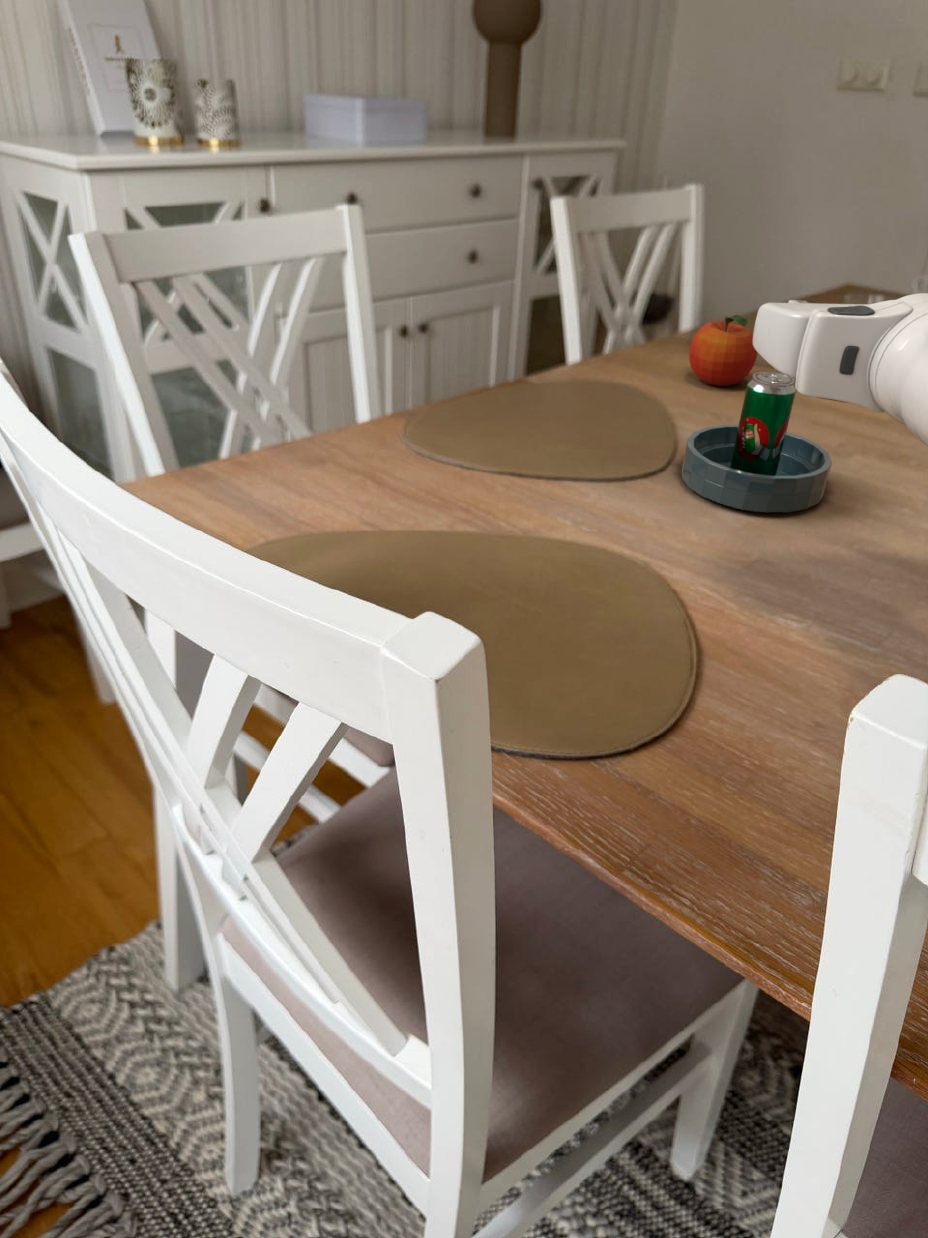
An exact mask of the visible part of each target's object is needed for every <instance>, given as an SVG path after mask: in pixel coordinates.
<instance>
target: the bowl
mask: <svg viewBox="0 0 928 1238" xmlns="http://www.w3.org/2000/svg"><path fill="white" fill-rule="evenodd" d="M738 426H739V424H719V425H712V426H706V427H704V428H701V429H699V430H695V431H693V432H692V433H691V434H690V435H689V436H688V437H687V438H686V445H685V450H684V457H683V462H682V469H681V480H683V482H684V483H685V484H686V486H687V487H688V488H689V489H690V490H692V491H693V492H695V493H697V494H698V495H699V496H701V497H702V498H704V499H707V498H708V499H707V500H709V499H710V500H709V501H711V500H712V501H711V502H714V501H715V502H714V503H716V502H717V504H719V503H720V504H719V505H721V504H723V505H722V506H724V505H726V506H725V507H727V506H730V507H729V508H731V507H734V508H733V509H735V508H738V509H737V510H739V509H743V510H742V511H744V510H748V511H747V512H750V511H756V512H755V513H759V512H783V513H793V512H797V511H803V510H807V509H809V508H811V507H813V506H815V505H817V504H819V503H820V501H821V499H822V498H823V496H824V494H825V490H826V487H827V483H828V480H829V475H830V471H831V468H832V465H833V461H832V458H831V455H830V453H829V452H828V451H827V450H825V449H824V447H822V446H821V445H819V444H818V443H816V442H814V441H811V440H810V439H808V438H806V437H803V436H800V435H798V434H794V433H791V432H788V431H787V432H786V436H785V440H784V444H783V449H782V453H781V457H780V461H779V466H778V470H777V474H776V476H769V475H761V474H752V473H748V472H743V471H739V470H735V469H731V468H730V465H731V460H732V455H733V450H734V445H735V440H736V436H737V431H738Z"/></svg>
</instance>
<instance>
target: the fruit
mask: <svg viewBox="0 0 928 1238" xmlns="http://www.w3.org/2000/svg"><path fill="white" fill-rule="evenodd" d="M734 321H736V323H732V322H734ZM737 323H738V324H737ZM747 325H748V318H746V317H745V316H744V315H739V314H734V315H731V316H728V315H725V317H724V321H710V322H707V323H705V324H704V325H703V326H701V327H700V328H699V329H698V330H697V332H696V333H695V335H694V336H693V338H692V340H691V343H690V346H689V350H688V352H689V353H688V361H689V364H690V368H691V370H692V372H693V374H694V375H695V377H697V378H698V379H699V380H700V381H702V382H703V383H705V384H707V385H711V386H717V387H729V386H733V385H735V384H738V383H740V382H742V381H743V380H744V379H745V378H746V377H748V375H749V374H750V373H751V371H752V369H753V368H754V366H755V364H756V361H757V358H758V352H757V351H756V350H755V348H754V346H753V332H752V331H751V330H750V329H749V328H748V327H746V326H747Z"/></svg>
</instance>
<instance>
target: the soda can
mask: <svg viewBox="0 0 928 1238" xmlns="http://www.w3.org/2000/svg"><path fill="white" fill-rule="evenodd" d="M795 382H796V380H795V378H792V377H789V376H787V375H784V374H782V373H781V372H775V371H758V372H754V373H753V374H752V375H751V380H749V381H748V383H747V384H746V388H745V392H744V396H743V397H744V398H743V402H742V408H741V412H740V417H739V422H738V425H739V426H738V431H737V436H736V440H735V445H734V450H733V455H732V460H731V465H730V468H731V469H735V470H739V471H743V472H748V473H752V474H761V475H769V476H776V474H777V470H778V466H779V461H780V457H781V453H782V449H783V444H784V440H785V436H786V432H788V427H789V424H790V419H791V414H792V410H793V405H794V402H795V397H796V392H797V390H796V388H795Z"/></svg>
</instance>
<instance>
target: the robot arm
mask: <svg viewBox="0 0 928 1238" xmlns="http://www.w3.org/2000/svg"><path fill="white" fill-rule="evenodd" d="M752 334H753V346H754V348H755V350H756V351H757V354H758V355H759V356H760V357H761V358H762V359H763V360H764V361H765V362H766V363H767V364H769V365H770V366H771V367H772V368H773V369H775V370H776V371H777V372H778V373H781V374H784V375H787V376H789V377H792V378H793V379H795V382H794V387H795V389H796V392H798V393H799V394H801V395H802V396H806V397H808V398H817V399H821V400H828V401H835V402H841V403H846V404H852V405H854V406H855V405H856V406H859V407H863V408H865V409H868V410H870V411H874V412H877V413H881V414H883V413H885V414H887V415H888V416H889V417H890V418H892V419H893V420H895V422H898V423H901V424H902V425H904V426H906V428H907V429H908V430H909V432H911V434H912V435H913V436H914V438H916V439H917V440H918V441H920V442H921V443H922V444H924V446H926V447H928V293H927V292H925V293H923V292H922V293H921V292H920V293H919V292H918V293H912V294H907V295H904V296H902V297H899V298H897V299H889V300H883V301H879V302H874V303H870V304H869V303H867V304H866V303H862V304H861V303H817V302H815V303H812V302H808V301H807V300H801V299H790V300H788V302H773V301H772V302H771V301H770V302H766V303H764V304H762V305H760V306H759V308H758V310H757V314H756V318H755V322H754V327H753V332H752Z"/></svg>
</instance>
